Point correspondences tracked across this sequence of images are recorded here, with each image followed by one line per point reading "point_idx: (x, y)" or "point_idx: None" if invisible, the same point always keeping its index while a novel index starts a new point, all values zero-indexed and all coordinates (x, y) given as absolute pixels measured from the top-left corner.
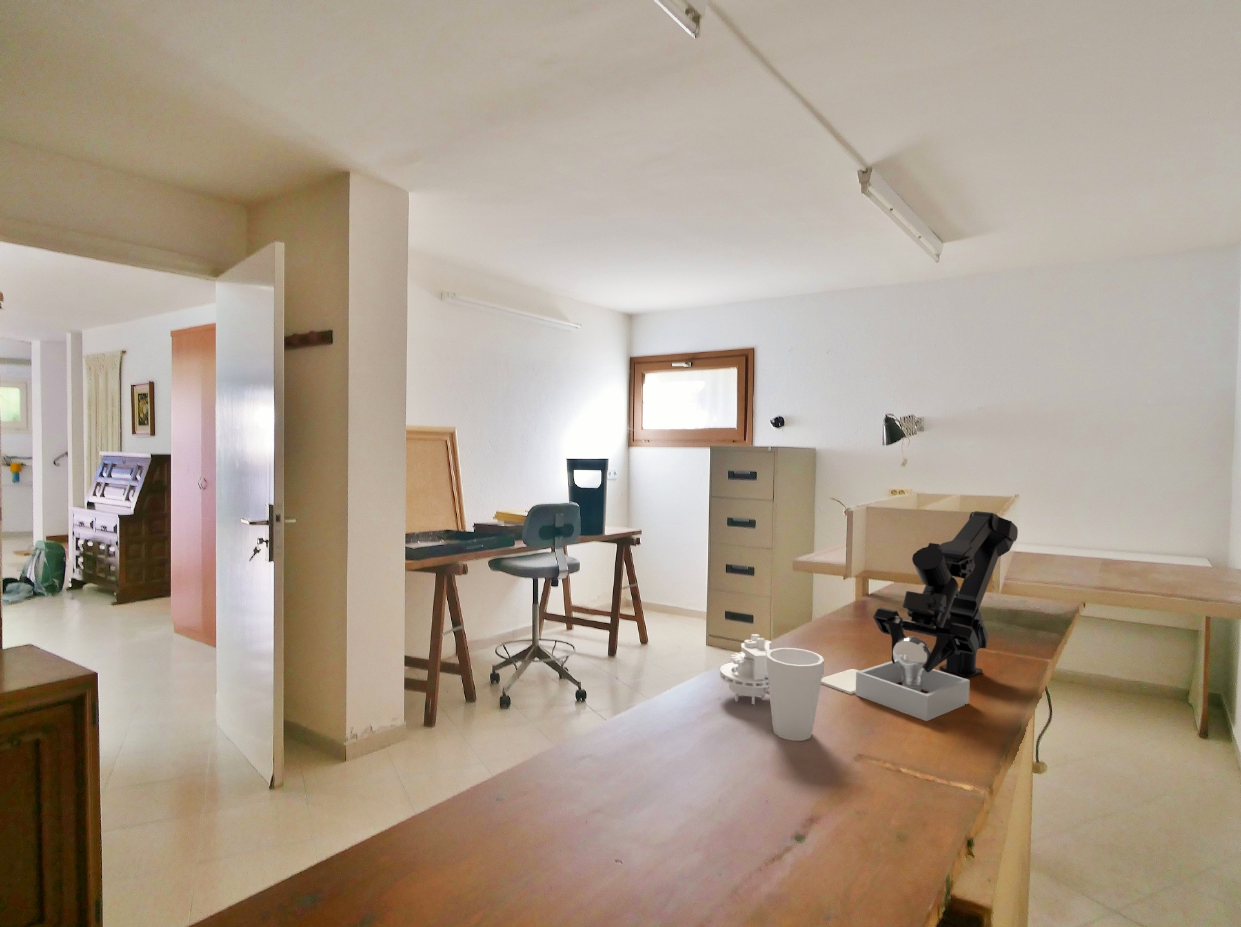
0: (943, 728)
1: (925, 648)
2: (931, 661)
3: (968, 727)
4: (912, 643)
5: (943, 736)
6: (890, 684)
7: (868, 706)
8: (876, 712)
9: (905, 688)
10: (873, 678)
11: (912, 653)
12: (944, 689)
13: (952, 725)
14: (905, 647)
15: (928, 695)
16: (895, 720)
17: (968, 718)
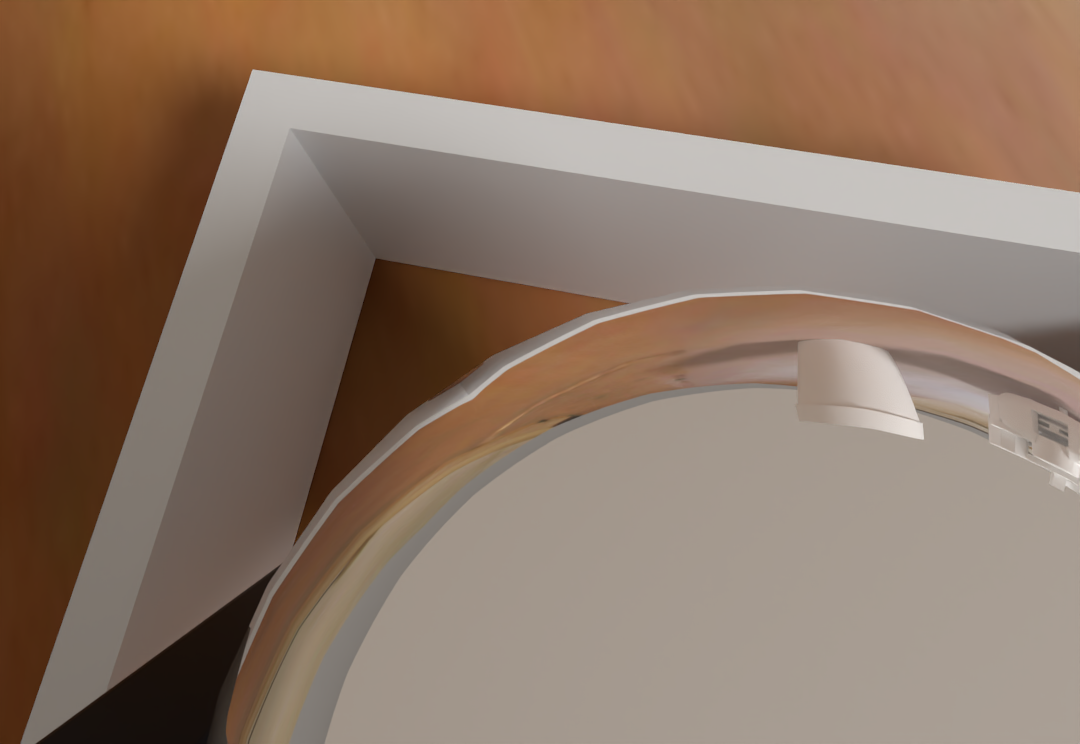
0: (192, 175)
1: (244, 724)
2: (194, 640)
3: (13, 353)
4: (670, 440)
5: (163, 28)
6: (774, 151)
7: (900, 163)
8: (771, 86)
9: (551, 120)
10: (1065, 195)
11: (580, 322)
12: (119, 467)
13: (139, 294)
14: (850, 318)
15: (248, 96)
16: (568, 45)
17: (34, 583)
